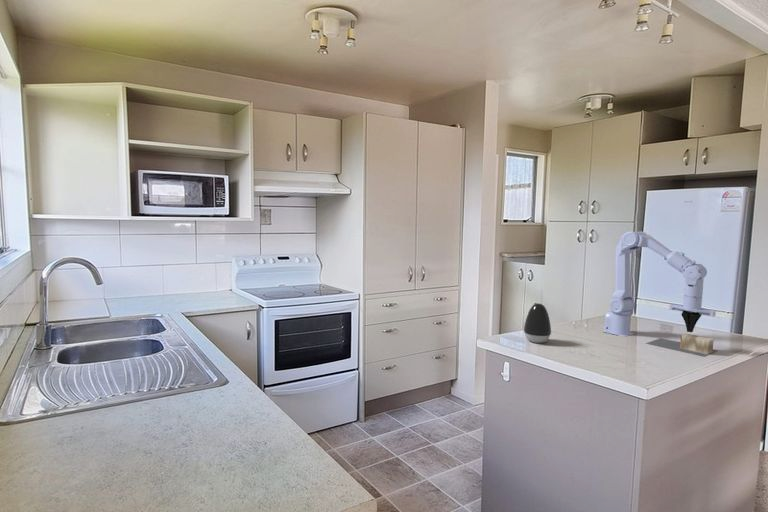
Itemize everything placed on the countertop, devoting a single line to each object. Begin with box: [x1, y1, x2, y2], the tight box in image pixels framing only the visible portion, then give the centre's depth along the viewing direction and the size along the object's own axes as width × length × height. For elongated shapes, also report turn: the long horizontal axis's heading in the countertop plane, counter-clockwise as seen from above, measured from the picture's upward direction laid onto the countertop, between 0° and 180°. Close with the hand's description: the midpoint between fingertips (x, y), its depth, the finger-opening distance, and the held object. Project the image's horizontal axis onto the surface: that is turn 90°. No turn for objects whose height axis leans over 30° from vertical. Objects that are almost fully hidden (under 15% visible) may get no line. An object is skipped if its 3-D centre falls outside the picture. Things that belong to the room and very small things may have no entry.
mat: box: [645, 337, 719, 357], centre depth 173 cm, size 20×14×1 cm
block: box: [679, 333, 715, 354], centre depth 169 cm, size 5×5×9 cm
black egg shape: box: [523, 302, 552, 344], centre depth 178 cm, size 10×10×15 cm
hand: (689, 331), depth 171 cm, fingers closed
